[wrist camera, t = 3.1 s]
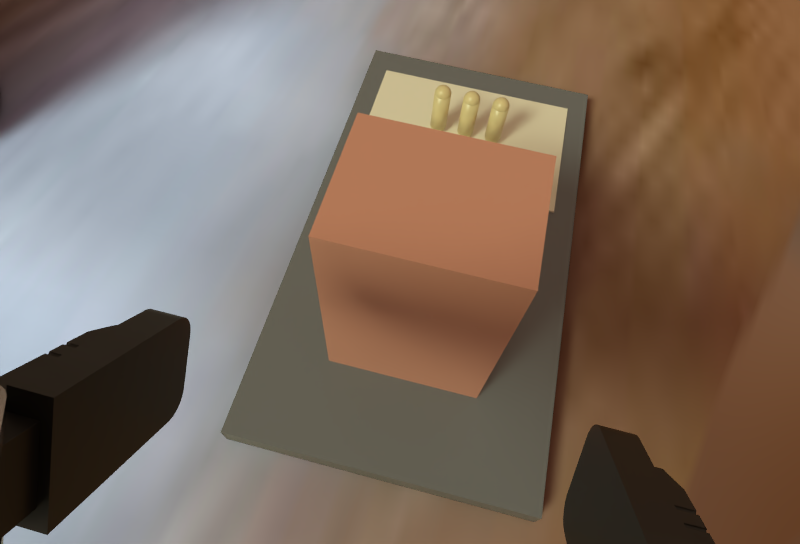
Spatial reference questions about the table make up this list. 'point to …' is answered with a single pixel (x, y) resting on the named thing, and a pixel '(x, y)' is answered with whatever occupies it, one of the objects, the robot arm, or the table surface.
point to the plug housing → (428, 251)
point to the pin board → (408, 401)
